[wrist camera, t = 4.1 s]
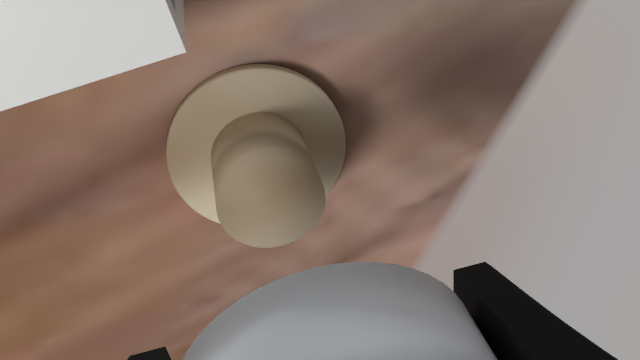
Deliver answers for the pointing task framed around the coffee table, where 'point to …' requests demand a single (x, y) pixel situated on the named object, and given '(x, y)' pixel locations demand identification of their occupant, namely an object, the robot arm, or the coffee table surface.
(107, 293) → the coffee table surface
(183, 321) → the coffee table surface
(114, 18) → the box
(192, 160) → the disc pedestal
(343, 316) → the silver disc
